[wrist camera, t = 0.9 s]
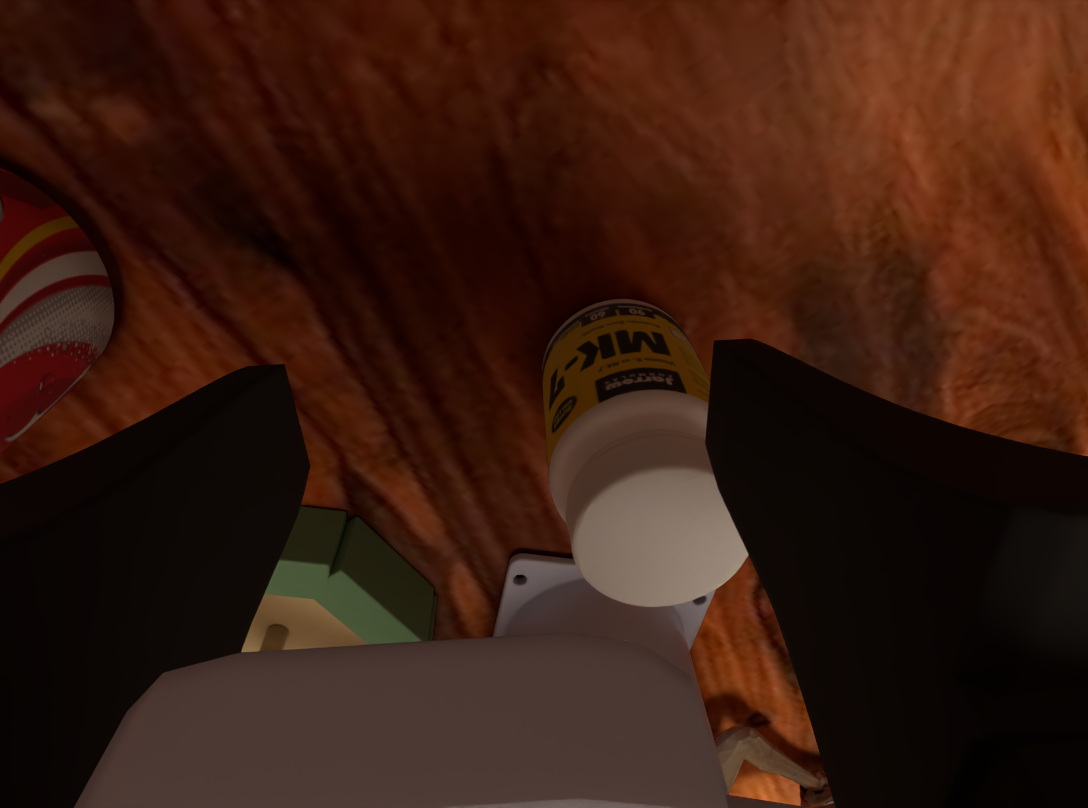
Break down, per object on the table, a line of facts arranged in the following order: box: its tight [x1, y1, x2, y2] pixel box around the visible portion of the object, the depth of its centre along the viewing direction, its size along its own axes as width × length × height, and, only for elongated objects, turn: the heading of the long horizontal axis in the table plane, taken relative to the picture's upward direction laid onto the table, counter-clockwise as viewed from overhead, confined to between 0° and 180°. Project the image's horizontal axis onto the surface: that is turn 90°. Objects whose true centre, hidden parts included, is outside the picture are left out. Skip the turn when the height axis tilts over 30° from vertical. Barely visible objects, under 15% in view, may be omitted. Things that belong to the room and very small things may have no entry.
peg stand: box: [241, 594, 368, 653], centre depth 25 cm, size 7×7×5 cm
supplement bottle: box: [542, 299, 748, 607], centre depth 18 cm, size 5×5×8 cm
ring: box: [265, 506, 437, 645], centre depth 26 cm, size 12×12×3 cm
